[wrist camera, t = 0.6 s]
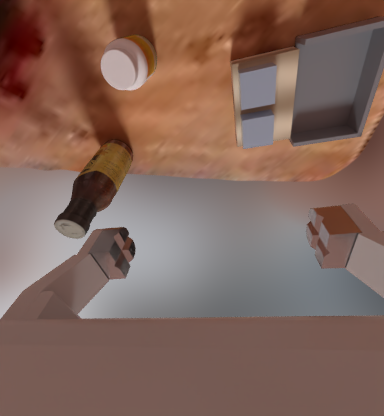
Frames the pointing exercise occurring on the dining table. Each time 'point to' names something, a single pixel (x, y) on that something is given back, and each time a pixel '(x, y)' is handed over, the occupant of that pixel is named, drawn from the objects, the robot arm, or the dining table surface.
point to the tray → (336, 81)
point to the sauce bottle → (95, 188)
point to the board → (283, 95)
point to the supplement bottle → (128, 62)
